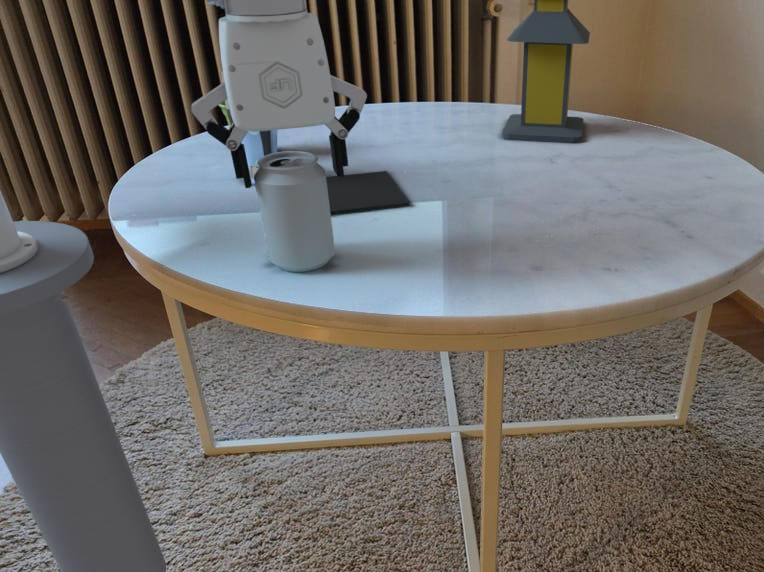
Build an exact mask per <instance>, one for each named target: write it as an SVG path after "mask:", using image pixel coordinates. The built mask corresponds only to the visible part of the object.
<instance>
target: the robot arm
mask: <svg viewBox="0 0 764 572" xmlns="http://www.w3.org/2000/svg"><path fill="white" fill-rule="evenodd" d="M206 5H207V6H214V5H215V6H216V7H220V9H223V10H224V13H225V16H223V17H220V18H219V19H218V42H219V53H220V61H221V67H222V71H223V74H224V81H225V82H223V83H222V82H221V83H220V84H219V85H218V86H216V87H214V88H213V89H212V90H210V91H208V92H207V93H206V94H204V95H203V96H201V97H199V98H198V99H197V100H195V101H194V102H193V103H191V105H190V110H191V111H190V112H191V113H192V114H193V116H194V117H195V118H196V119H197V121H198V122H199V123H200V124H201V125H202V126H203V128H204V129H205V130H206V132H207V134H209V136H211V137H212V138H214V139H215V140H217V141H218V142H220V144H222V145H224V146H225V147H226V148H227V149H228V151H230V155H231V161H232V164H233V169H234V173H235V178H236V180H238V179H239V180H240V179H242V180H243V179H244V180H243V183H244V188H245V189H251V187H253V184H252V183H251V178H250V173H249V168H248V163H247V158H246V153H245V148H244V144H242V143H241V142H242V140H243V139H244V137H245V136H246V134H247V132H248V131H250V132H256V131H269V130H288V129H289V130H290V129H300V128H309V127H317V126H323V125H324V126H326V128H328V129H329V130H330V134H329V135H328V138H329V139H328V140H329V147H330V155H331V163H332V169H333V171H334V173H335V176H339V177H344V175H345V172H344V168H345V167H349V159H348V150H347V141H346V139H347V138H348V137H349V133H350V132H351V131H352V130H353V128H354V127H355V126H356V124H357V123H359V120H360V118H361V113H362V111H363V109H364V105H365V104H366V102H367V98H368V94H367V92H366V91H365V90H364V89H363V88H361V87H359V86H356V85H354V84H352V83H350V82H348V81H345V80H342V79H341V78H338V77H337V76H334V75H332V74H331V72H330V66H329V60H328V55H327V51H326V46H325V41H324V37H323V33H322V30H321V26H320V23H319V20H318V17H317V15H316V14H314V13H311V12H308V6H307V0H206ZM334 92H335V93H337V94H339V95H342V96H344V97H347V98H349V103H348V107H347V108H346V110H344V112H343V114H342V115H341V116H340V117H339V118H337V116H336V103H335V102H336V101H335V96H334V95H335V94H334ZM227 99H228V104H229V108H230V112H231V116H232V119H233V123H232V125H231V126H230V127H228V128H227V127H225V126H224V125H223V124H221V123H220V122H219V121H217V119H216V118H214V116H213V115H212V113H211V111H212V110H213V109H215V108H217V107H219V106H218V105H219V104H221V103H222V102H224V101H225V100H227ZM1 190H2V189H0V273H3V272H6V271H8V270H11V269H13V268H16V267H18V266H20V265H22V264H24V263H25V262H27V261H28V260H30V259H31V258H32V257H33V256H34V255H35V254H36V252H37V251H38V245H37V243H36V240H35V238H34V237H33V236H31V235H29V234H27V233H23V232H18V231H17V230H16V228H15V225H14V223H13V222H14V220H13V218H12V216H11V213H10V211H9V209H8V205H7V203H6V201H5V198H4V196H3V193H2V191H1Z"/></svg>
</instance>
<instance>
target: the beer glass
mask: <svg viewBox="0 0 764 572" xmlns="http://www.w3.org/2000/svg"><path fill="white" fill-rule="evenodd" d="M220 76H221V84H222V83H223V82H225V81H224V74H223V70H222V71H221V72H220ZM225 106H226V110H227V115H228V118H229V121H230V124H231V125H232V123H233V119H232V116H231V112H230V108H229V104H228V99H227V100H225ZM241 143H242V144H244V148H245V153H246V158H247V163H248V168H249V173H250V178H251V183H252V185H255V181H254V175H255V173H256V171H257V170H258V169H259V167H260V166H259V165H258V163H257V162H258V160H259V159H260V158H262V157H263V156H266V155H268V154H272V153H276V152H279V149H278V130H269V131H256V132H250V131H248V132H247V134H246V136H245V137H244V139H243V140H242V142H241ZM242 180H243V181H244V179H243V178H242Z"/></svg>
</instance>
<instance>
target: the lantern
mask: <svg viewBox="0 0 764 572" xmlns="http://www.w3.org/2000/svg"><path fill="white" fill-rule="evenodd" d="M590 34H591V32H590V31H589V30H588V28H586V27H585V25H584V24H583V23H582V22H581V21H580V20H579V19H578V17H576V16H575V14H573V12H572V11H571V10H570V9H569V0H533V10H532V11H531V12H530V13H529V14H528V16H527V17H525V18H524V20H522V21H521V22H520V23H519V25H517V26H516V28H515V29H513V31H512V32H511V33H510V35H509V36H508V37H507V38H506V41H507V42H513V43H514V42H515V43H523V60H522V81H521V82H522V83H521V84H522V85H521V105H520V106H521V110H520V111H521V112H520V113H513V114H510V115H509V117H508V118H507V121H506V123H505V125H504V128H503V130H502V133H501V135H502V136H501V137H502V139H504V140H510V141H529V142H533V141H534V142H550V143H570V144H579V143H581V142H582V138H583V129H584V118H582V117H580V116H568V114H569V113H568V112H569V99H570V88H571V87H570V86H571V76H572V75H571V74H572V61H573V50H574V49H573V47H574V45H586V44H589V41H590Z"/></svg>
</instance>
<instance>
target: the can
mask: <svg viewBox="0 0 764 572" xmlns="http://www.w3.org/2000/svg"><path fill="white" fill-rule="evenodd" d="M318 160H319V158H318V157H317V155H316V154H314V153H312V152H309V151H301V150H286V151H278V152H276V153H272V154H268V155H266V156H263V157H262V158H260V159H259V160H258V162H257V163H258V165H259V166H260V167H259V169H258V170H257V171H256V173H255V175H254V181H255V184H254V186H255V192H256V197H257V202H258V208H259V213H260V218H261V223H262V229H263V234H264V240H265V245H266V251H267V257H268V259H269V261H270V262H271V263H272V264H273V265H275V266H277V267H278V268H280V269H281V270H284V271H287V272H292V273H305V272H309V271H315V270H318V269H321V268H322V267H324V266H326V265H327V264H328V262H329V261H331V260H332V258H333V257H334V256H335V252H336V249H335V239H334V232H333V231H334V230H333V224H332V223H333V222H332V215H331V214H330V206H329V198H328V189H327V181H326V177H327V173H326V170H325V168H324V167H322V166H321V165H320V164H319V163H318Z"/></svg>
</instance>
